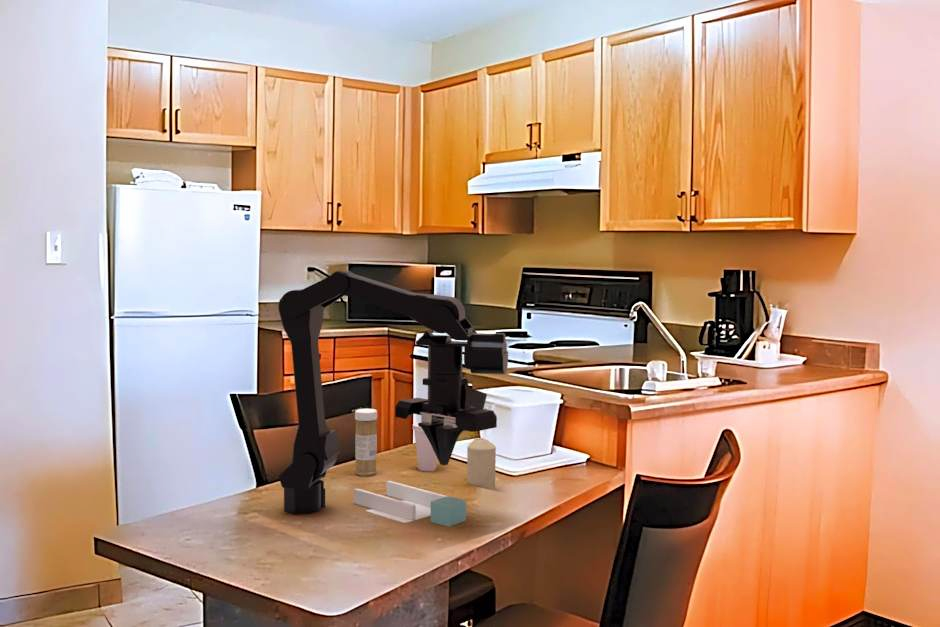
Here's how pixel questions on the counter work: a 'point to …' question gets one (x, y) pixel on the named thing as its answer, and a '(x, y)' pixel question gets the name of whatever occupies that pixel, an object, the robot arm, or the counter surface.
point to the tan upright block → (481, 463)
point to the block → (448, 511)
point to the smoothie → (424, 450)
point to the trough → (398, 502)
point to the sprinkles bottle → (366, 442)
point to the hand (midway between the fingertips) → (444, 464)
